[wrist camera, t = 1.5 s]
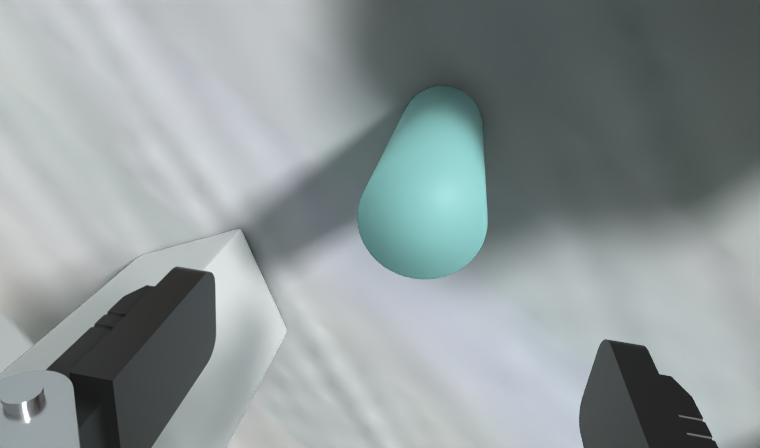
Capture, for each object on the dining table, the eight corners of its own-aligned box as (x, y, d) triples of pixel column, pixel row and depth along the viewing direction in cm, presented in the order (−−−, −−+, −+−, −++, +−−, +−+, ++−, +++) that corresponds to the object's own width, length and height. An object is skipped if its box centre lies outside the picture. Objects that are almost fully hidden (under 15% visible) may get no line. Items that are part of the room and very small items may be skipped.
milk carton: (139, 254, 34) (-199, 539, 17) (242, 226, 32) (-20, 513, 15) (190, 350, 37) (-61, 685, 19) (289, 329, 35) (109, 678, 18)
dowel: (489, 91, 27) (499, 170, 16) (474, 170, 29) (475, 288, 18) (406, 80, 28) (363, 150, 17) (397, 158, 29) (352, 268, 19)
